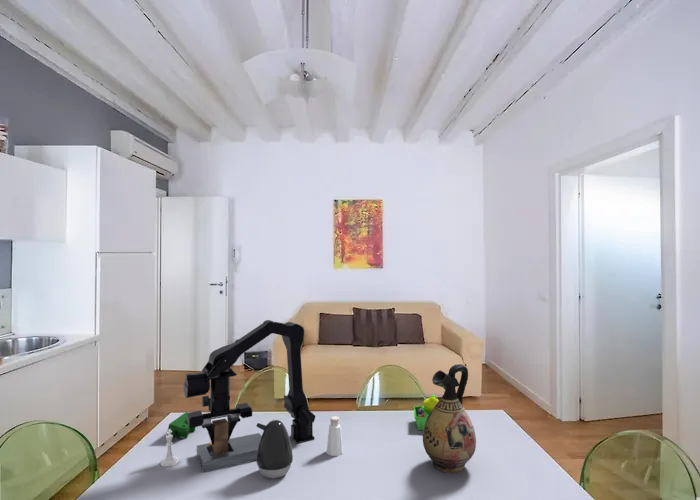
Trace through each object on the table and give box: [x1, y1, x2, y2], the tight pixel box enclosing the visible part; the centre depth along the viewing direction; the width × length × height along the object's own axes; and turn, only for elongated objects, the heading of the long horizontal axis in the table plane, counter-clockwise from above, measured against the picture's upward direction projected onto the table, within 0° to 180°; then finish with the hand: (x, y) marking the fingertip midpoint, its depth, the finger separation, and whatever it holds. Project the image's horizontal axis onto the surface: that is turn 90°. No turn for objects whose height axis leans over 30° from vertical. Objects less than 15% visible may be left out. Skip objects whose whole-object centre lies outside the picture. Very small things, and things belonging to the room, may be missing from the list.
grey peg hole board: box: [196, 432, 262, 473], centre depth 131 cm, size 20×12×3 cm, turn 118°
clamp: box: [165, 411, 197, 441], centre depth 148 cm, size 12×6×9 cm, turn 167°
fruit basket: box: [413, 394, 439, 431], centre depth 155 cm, size 11×9×11 cm
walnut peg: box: [211, 418, 228, 456], centre depth 130 cm, size 4×4×9 cm
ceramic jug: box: [422, 363, 477, 474], centre depth 125 cm, size 17×15×30 cm
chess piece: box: [160, 429, 179, 468], centre depth 127 cm, size 5×5×10 cm
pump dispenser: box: [256, 419, 294, 479], centre depth 121 cm, size 10×10×15 cm
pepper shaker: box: [326, 415, 344, 457], centre depth 134 cm, size 5×5×11 cm
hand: (220, 442), depth 130 cm, fingers open, 4 cm apart
